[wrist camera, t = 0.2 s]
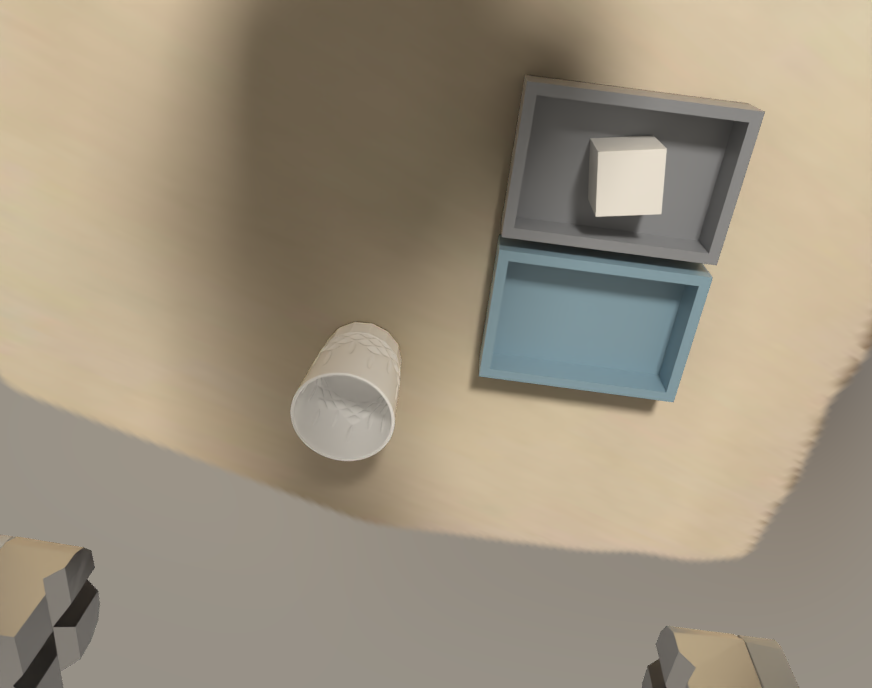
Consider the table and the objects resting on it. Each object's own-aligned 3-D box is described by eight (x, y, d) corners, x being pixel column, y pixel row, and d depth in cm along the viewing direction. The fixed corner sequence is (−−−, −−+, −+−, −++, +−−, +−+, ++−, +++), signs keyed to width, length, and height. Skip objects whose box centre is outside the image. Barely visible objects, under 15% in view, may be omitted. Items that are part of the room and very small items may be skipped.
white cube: (590, 138, 52) (598, 151, 48) (653, 135, 52) (666, 148, 48) (587, 198, 54) (595, 216, 50) (648, 196, 54) (661, 214, 50)
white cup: (369, 409, 65) (350, 478, 56) (300, 357, 63) (269, 419, 54) (426, 354, 62) (416, 417, 53) (356, 297, 60) (332, 352, 51)
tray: (524, 74, 51) (527, 81, 48) (748, 103, 51) (764, 111, 48) (501, 222, 56) (501, 237, 53) (704, 249, 56) (716, 265, 53)
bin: (499, 234, 57) (499, 249, 53) (700, 261, 56) (712, 277, 53) (479, 356, 62) (478, 376, 59) (664, 380, 61) (673, 402, 58)
